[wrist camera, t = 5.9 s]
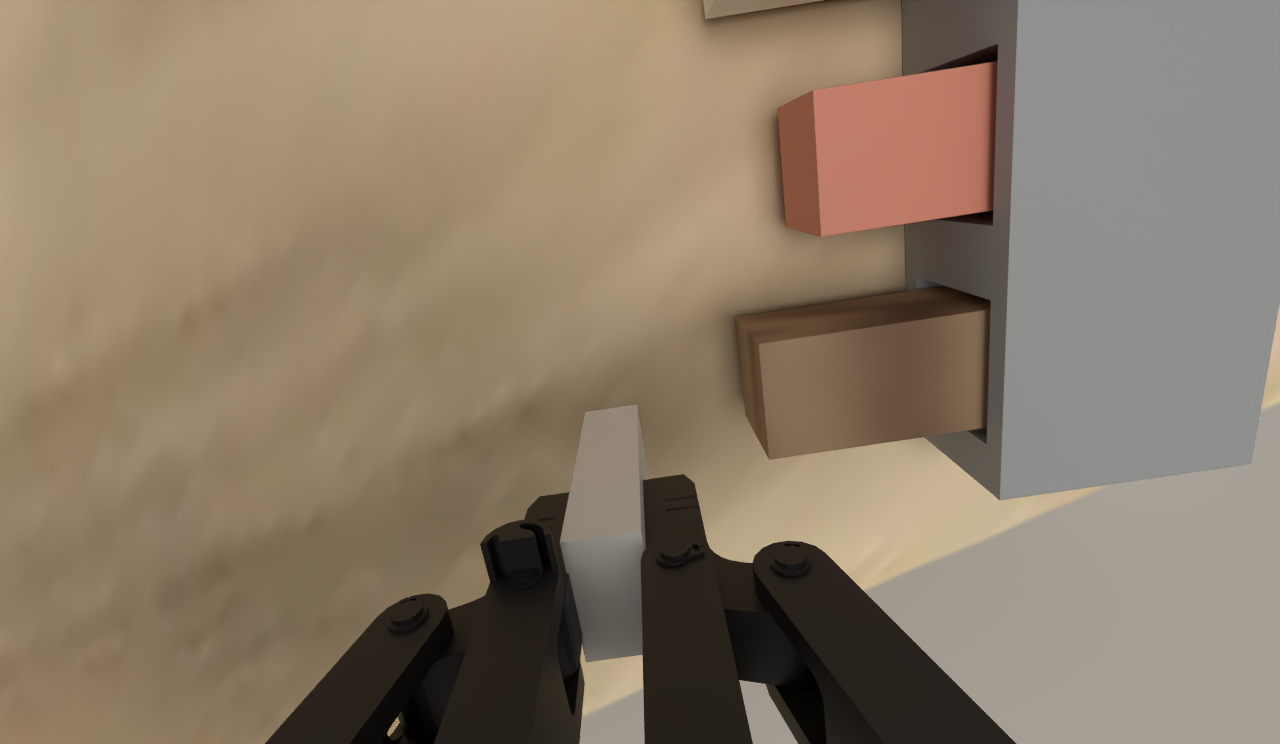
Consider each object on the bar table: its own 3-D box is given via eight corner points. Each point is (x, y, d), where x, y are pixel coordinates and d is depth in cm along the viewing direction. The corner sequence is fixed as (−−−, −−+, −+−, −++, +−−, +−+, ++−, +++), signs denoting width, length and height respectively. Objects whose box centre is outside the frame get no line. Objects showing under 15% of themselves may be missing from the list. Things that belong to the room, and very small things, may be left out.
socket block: (908, 423, 25) (999, 500, 19) (898, -219, 19) (1033, -417, 13) (1097, 395, 25) (1251, 464, 19) (1154, -262, 19) (1417, -482, 13)
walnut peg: (745, 415, 24) (768, 459, 20) (735, 317, 23) (758, 344, 19) (972, 381, 24) (1040, 419, 20) (975, 281, 22) (1047, 300, 19)
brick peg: (785, 227, 22) (820, 236, 18) (777, 107, 20) (812, 90, 17) (1036, 189, 21) (1126, 190, 18) (1042, 66, 20) (1139, 38, 16)
